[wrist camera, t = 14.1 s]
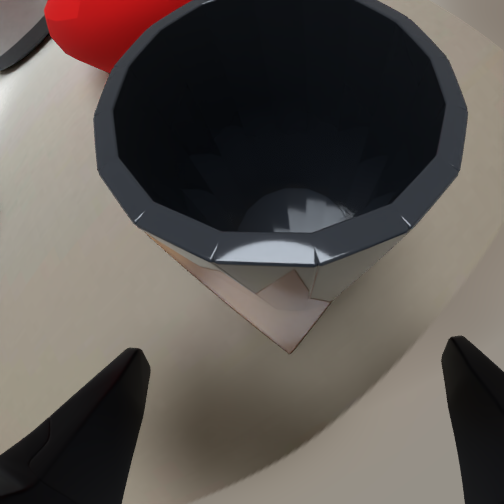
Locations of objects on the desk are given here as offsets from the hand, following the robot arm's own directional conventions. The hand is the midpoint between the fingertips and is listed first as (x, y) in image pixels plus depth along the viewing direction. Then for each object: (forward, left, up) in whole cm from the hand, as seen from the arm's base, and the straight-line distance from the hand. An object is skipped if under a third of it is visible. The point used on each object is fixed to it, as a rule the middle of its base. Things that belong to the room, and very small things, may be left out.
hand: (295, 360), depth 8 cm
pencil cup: (+3, -4, -7) cm, 9 cm away
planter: (+49, -7, -8) cm, 50 cm away
